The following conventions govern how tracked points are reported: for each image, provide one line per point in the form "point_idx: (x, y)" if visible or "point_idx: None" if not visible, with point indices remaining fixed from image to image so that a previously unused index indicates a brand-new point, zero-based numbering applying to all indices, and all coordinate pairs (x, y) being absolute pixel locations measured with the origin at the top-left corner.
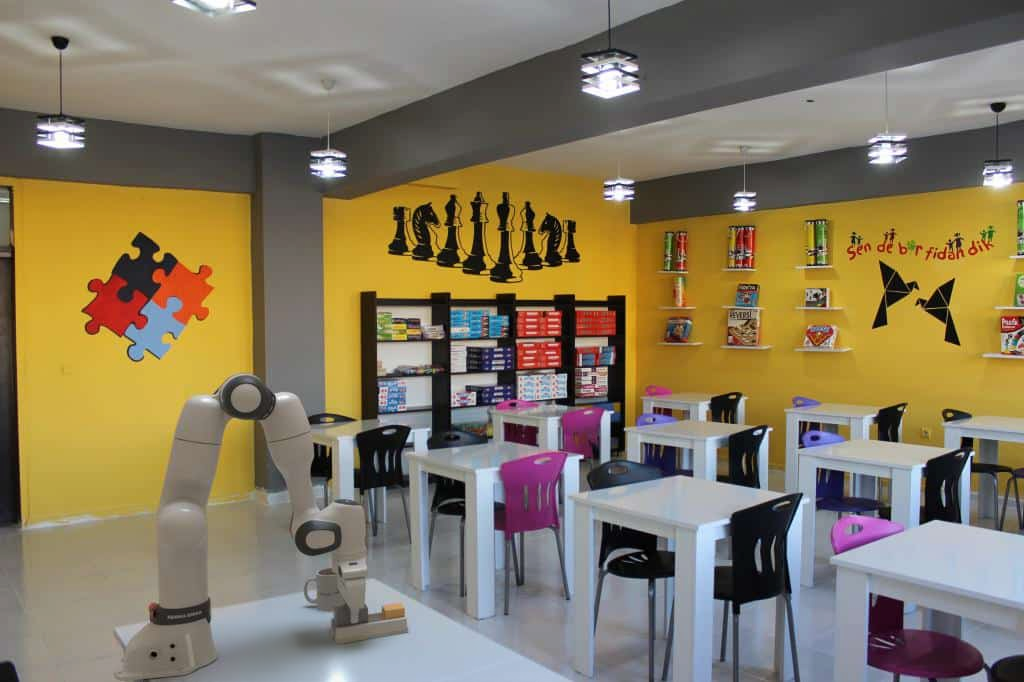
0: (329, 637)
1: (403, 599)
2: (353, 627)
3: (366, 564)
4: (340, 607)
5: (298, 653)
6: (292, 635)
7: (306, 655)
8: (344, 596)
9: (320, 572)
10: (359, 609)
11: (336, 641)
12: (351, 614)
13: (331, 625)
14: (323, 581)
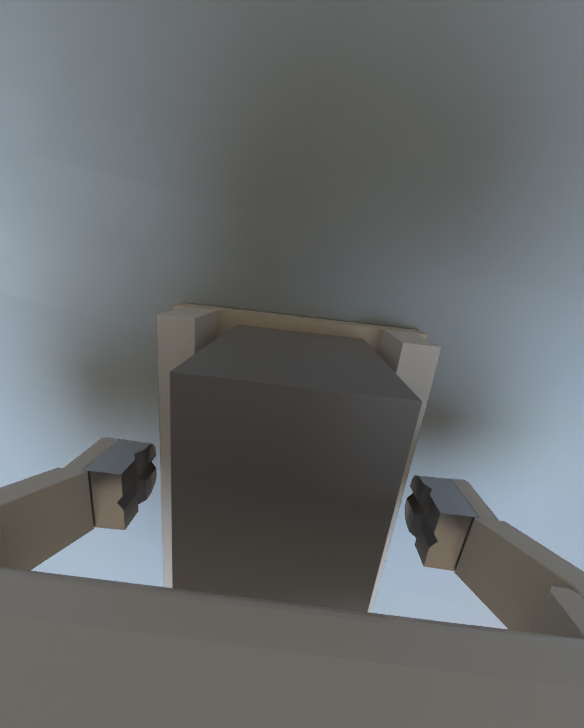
0: (314, 292)
1: None
2: (160, 433)
3: None
4: (330, 461)
5: (121, 2)
6: (523, 45)
7: (62, 57)
8: (29, 697)
9: None
10: (173, 582)
11: (195, 305)
12: (17, 487)
13: (396, 334)
14: None
